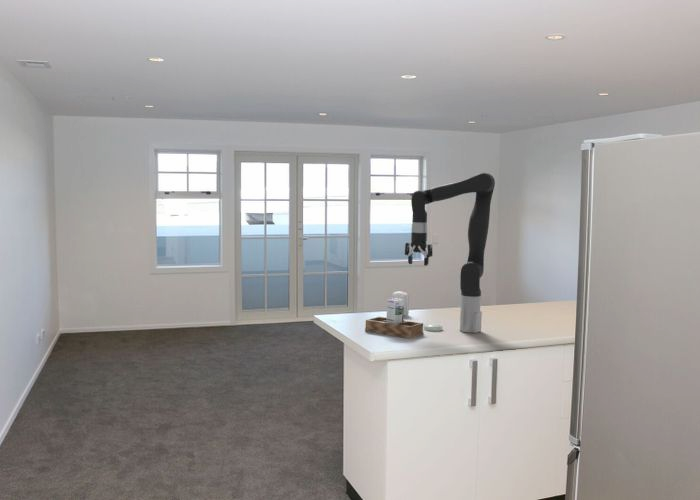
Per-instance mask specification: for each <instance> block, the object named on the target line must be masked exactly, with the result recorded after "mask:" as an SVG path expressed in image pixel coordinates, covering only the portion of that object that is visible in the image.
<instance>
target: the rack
mask: <svg viewBox="0 0 700 500" xmlns="http://www.w3.org/2000/svg"><path fill="white" fill-rule="evenodd" d="M364 332H366V333H367V332H368V333H373V334H374V333H375V334H380V335H386V336H392V337H396V338H402V339H412V338H415V337H419V336H422V335H424V322H418V321H412V320H405V319H403V322H402V323H399V324H393V323H387V316H386V317H385V316H377V317H373V318H367V319H365V328H364Z"/></svg>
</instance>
